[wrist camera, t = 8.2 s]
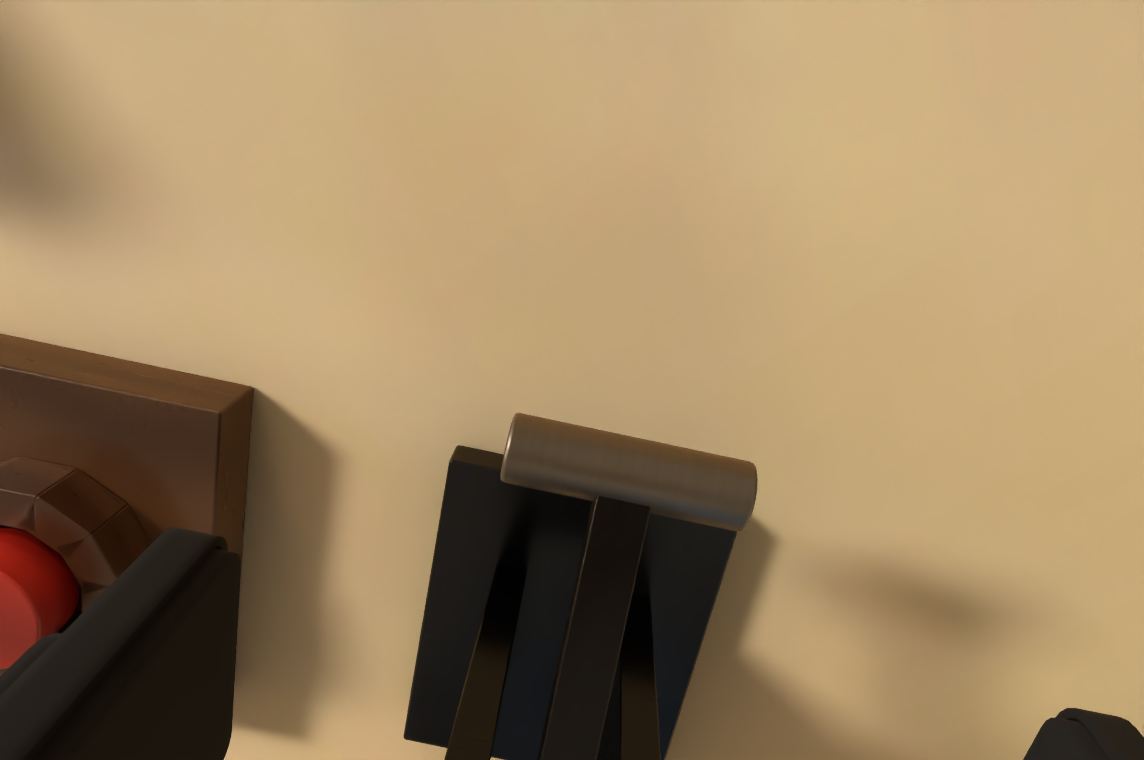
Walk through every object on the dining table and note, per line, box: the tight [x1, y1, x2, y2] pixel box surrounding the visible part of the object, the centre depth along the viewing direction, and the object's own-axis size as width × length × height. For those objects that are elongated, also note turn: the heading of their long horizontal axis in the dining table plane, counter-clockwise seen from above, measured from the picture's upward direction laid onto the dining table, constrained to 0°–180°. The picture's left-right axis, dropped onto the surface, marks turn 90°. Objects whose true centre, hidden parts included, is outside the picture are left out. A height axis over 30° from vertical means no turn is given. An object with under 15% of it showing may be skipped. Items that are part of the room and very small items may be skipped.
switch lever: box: [501, 413, 757, 760], centre depth 16 cm, size 12×5×2 cm, turn 169°
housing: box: [0, 334, 253, 676], centre depth 24 cm, size 12×10×4 cm
